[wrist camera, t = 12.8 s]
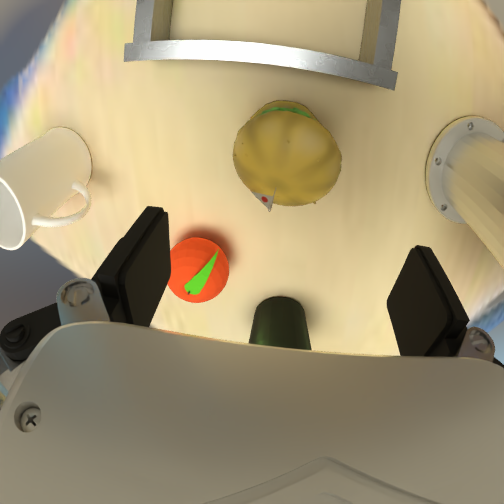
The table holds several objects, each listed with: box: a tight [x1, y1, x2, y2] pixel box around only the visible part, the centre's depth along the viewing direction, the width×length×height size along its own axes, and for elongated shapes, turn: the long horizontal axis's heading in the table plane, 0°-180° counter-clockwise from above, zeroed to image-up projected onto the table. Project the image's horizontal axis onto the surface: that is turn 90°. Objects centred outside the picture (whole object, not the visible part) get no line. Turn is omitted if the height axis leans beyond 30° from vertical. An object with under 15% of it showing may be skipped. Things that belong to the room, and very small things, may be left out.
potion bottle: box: [249, 297, 311, 350], centre depth 33 cm, size 8×8×18 cm
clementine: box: [168, 237, 229, 303], centre depth 32 cm, size 8×7×7 cm
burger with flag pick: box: [233, 101, 342, 212], centre depth 22 cm, size 8×7×12 cm
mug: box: [0, 127, 92, 250], centre depth 25 cm, size 12×8×12 cm
